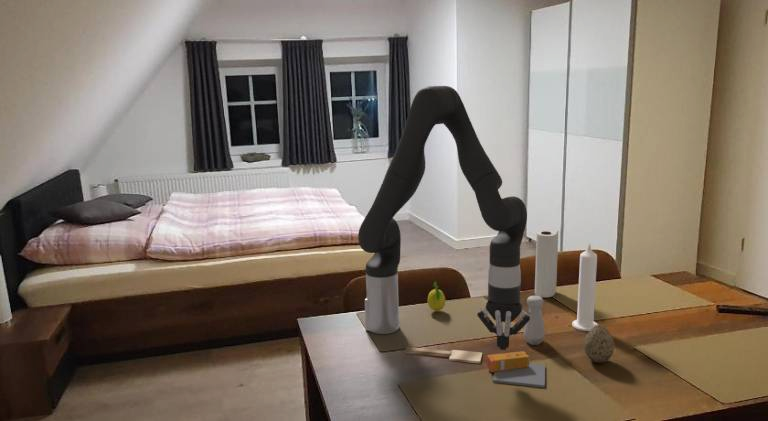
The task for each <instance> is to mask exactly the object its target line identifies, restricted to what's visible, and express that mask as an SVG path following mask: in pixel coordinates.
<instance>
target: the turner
mask: <svg viewBox="0 0 768 421" xmlns="http://www.w3.org/2000/svg"><path fill="white" fill-rule="evenodd" d="M405 354H413V355H422V356H423V355H425V356H432V357H433V356H434V357H440V358H441V357H442V358H443V357H444V358H448V361H452V362H460V363H461V362H462V363H471V364H479V365H480V364H481V361H482V357H483V352H478V351H470V350H460V349H451V350H441V349H431V348H423V347H414V346H413V347H411V346H406V348H405Z"/></svg>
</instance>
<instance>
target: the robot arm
mask: <svg viewBox="0 0 768 421" xmlns="http://www.w3.org/2000/svg"><path fill="white" fill-rule="evenodd" d="M436 125H444V126H445V127H446V128H447V129H448V131H449V133H450V134H451V136H452V138H453V140H454V141H455V144H456V150H457V151H456V152H457V157H458V158H457V159H458V163H459V167H460V169H461V172H462V174H463V176H464V178H465V180H466V181H467V183H468V184H469V185H470V188H471V189H472V190H473V191H474V194H475V198H476V202H477V205H478V208H479V209H478V210H479V212H480V214H481V217H482V219H483V221H484V222H485V224H486V225H487V226H488V227H489V228H490V229H491V230H493V231H494V232H495V231H496V232H498V233H497V235H496V236H495V237H494V238H492V240H491V241H490V243H489V264H488V272H487V274H488V275H487V276H488V277H487V278H488V279H487V302H486V304H485V307H483V308H479V309H478V311H477V315H476V316H477V317H478V318H479V319H480V321H481V322H482V324H483V325H484V326H485V327H486V329H487V330H488V331H489V333H491V334H492V333H494V334H496V347H497V348H499V350H502V351H507V349H508V348H509V346H510V336H511V335H514V336H515V335H517V334H518V333H519V332H521V330H522V329H523V328H524V327H525V324H526V323H527V322H528V321H529V320H530V313H528V312H526V311H525V310H524V309H523V305H522V303H521V281H522V272H521V271H522V270H521V244H522V242H523V238H524V235H525V230H526V225H527V221H528V211H527V207H526V204H525V202H524V201H523V200H522V199H521V198H520V197H517V196H511V195H510V196H507V197H503V198H502V196H501V195H500V191H499V189H500V188H501V187H502V185H503V179H502V177H501V175H500V173H499V172H498V170H497V168H496V167H495V166H494V164H493V162H492V160H491V159H490V158H489V156H488V154H487V153H486V151H485V149H484V147H483V145H482V144H481V141H480V139H479V137H478V135H477V133H476V131H475V129H474V126H473V124H472V122H471V119H470V117H469V114H468V112H467V110H466V107H465V105H464V102H463V100H462V98H461V97H460V94H459V92H458V91H457V90H456V89H454V88H453V87H452V86H448V85H433V86H432V85H431V86H424V87H422V88H420V89H419V90H418V91H417V92H416V94H415V95H414V97H413V99H412V102H411V104H410V107H409V111H408V116H407V118H406V121H405V125H404V129H403V131H402V134H401V137H400V139H399V142H398V144H397V147H396V149H395V152H394V154H393V156H392V159H391V161H390V163H389V166H388V168H387V170H386V172H385V174H384V178H383V181H382V183H381V185H380V187H379V190H378V191H377V194H376V196H375V199H374V200H373V202H372V204H371V207H370V209H369V210H368V211H367V214H365V217H364V219H363V221H362V222H361V224H360V227H359V229H358V235H357V238H358V244H359V246H360V249H362V250H363V251H364V252H365V253H368V254H373V255H372V256H371V257H370V259H369V260H368V261H367V262H366V264H365V284H366V285H365V286H366V287H365V288H366V298H364V317H365V331H369V332H371V333H374V334H377V335H388V334H392V333H396V332H397V331H398V330H399V329H400V316H399V315H400V312H399V272H398V268H399V265H400V263H401V243H402V242H401V241H402V237H401V230H400V229H401V228H400V226H399V223H398V222H397V221H396V220H395V219H394V217H395V216H396V214H398V212H399V211H400V210H401V209H402V208H403V207H404V206H405V205H406V204H407V203H408V202H409V200H410V199H412V197H413V196H414V195H415V193H416V191H417V189H418V188H419V186H420V184H421V183H422V182H421V181H422V179H423V177H424V176H425V170H426V156H425V147H426V143H427V141H428V138H429V136H430V134H431V132H432V130H433V129H434V127H435V126H436ZM489 315H490V316H491V318H492V319H493V321H495V323H494V322H493V321H492V320H491V318H490V317H489ZM517 317H519V319H518V321H516V323H515V324H514V325H513V326H512V327H511V324H512V322H514V321H515V320H516V319H517ZM503 323H504V326H503ZM503 328H504V330H503Z"/></svg>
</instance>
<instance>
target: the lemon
mask: <svg viewBox="0 0 768 421" xmlns="http://www.w3.org/2000/svg"><path fill="white" fill-rule="evenodd" d="M432 286H433V287H434V289H432V290H431V291H430V292H429V293H428V296H427V305H428V307H429V309H431V310H433V311H434V312H435V313H438V312H439V311H442V310H443V309H444V308H445V306H446V296H445V294H444V293H443V291H442V290H441V289H438V288H439V286H438V283H437V281H434V282H433V284H432Z"/></svg>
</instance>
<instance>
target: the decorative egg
mask: <svg viewBox="0 0 768 421" xmlns="http://www.w3.org/2000/svg"><path fill="white" fill-rule="evenodd" d="M587 332H588V333H587V334H586V336H585V337H584V338H585V339H584V342H583V348H584V353H585V354H586V356H587V358H588V359H589V360H591V362H595V363H598V364H600V363H601V364H602V363H605V362H607V361H609V360H610V359H611V357H612V356H613V354H614V352H615V351H614V350H615V343H614V338H613V336H612V334H611V332H610V331H609V330H608V329H607V328H606V327H605V326H604V325H603V324H598V325H596V326H594V327H593V328H592V329H591V330H590V331H587Z"/></svg>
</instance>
